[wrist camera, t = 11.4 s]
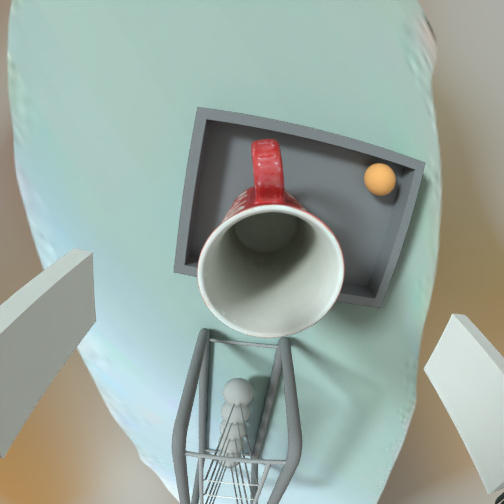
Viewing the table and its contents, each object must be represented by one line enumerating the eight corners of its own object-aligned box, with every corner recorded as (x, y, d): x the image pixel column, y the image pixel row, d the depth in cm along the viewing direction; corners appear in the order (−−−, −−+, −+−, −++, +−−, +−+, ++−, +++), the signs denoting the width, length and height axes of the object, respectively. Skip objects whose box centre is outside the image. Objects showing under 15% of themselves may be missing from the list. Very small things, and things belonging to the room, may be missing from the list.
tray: (203, 110, 28) (197, 106, 25) (410, 159, 29) (425, 162, 26) (181, 260, 34) (173, 272, 31) (370, 293, 35) (379, 307, 32)
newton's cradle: (257, 459, 47) (256, 543, 31) (199, 453, 47) (186, 536, 30) (289, 329, 37) (305, 453, 20) (201, 320, 37) (168, 441, 20)
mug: (308, 262, 33) (336, 337, 20) (222, 262, 33) (202, 338, 20) (313, 140, 29) (355, 142, 16) (219, 139, 29) (189, 140, 16)
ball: (363, 158, 29) (374, 160, 26) (391, 166, 29) (404, 169, 26) (356, 188, 30) (366, 194, 27) (384, 195, 30) (396, 202, 27)
